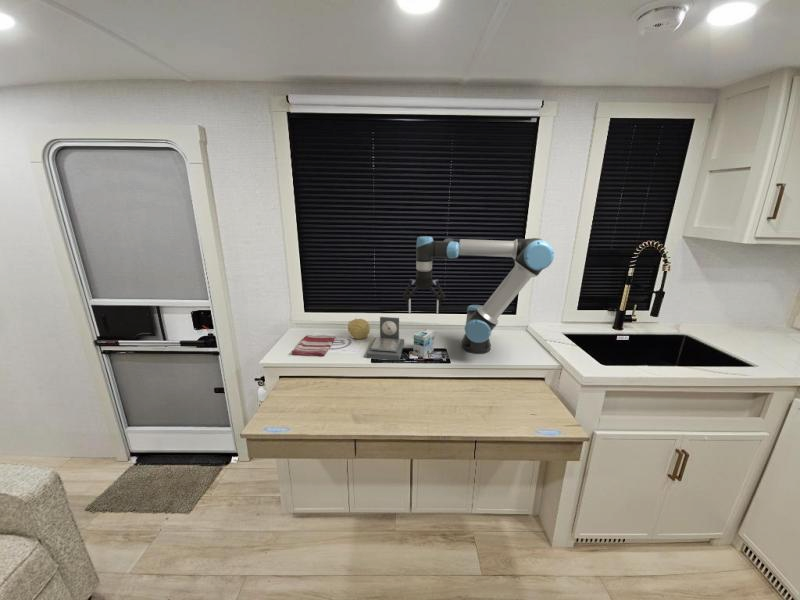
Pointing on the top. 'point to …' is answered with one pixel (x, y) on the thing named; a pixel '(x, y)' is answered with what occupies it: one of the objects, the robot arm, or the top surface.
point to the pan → (386, 344)
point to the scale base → (390, 331)
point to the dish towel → (314, 346)
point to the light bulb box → (423, 342)
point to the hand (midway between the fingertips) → (423, 312)
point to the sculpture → (359, 328)
